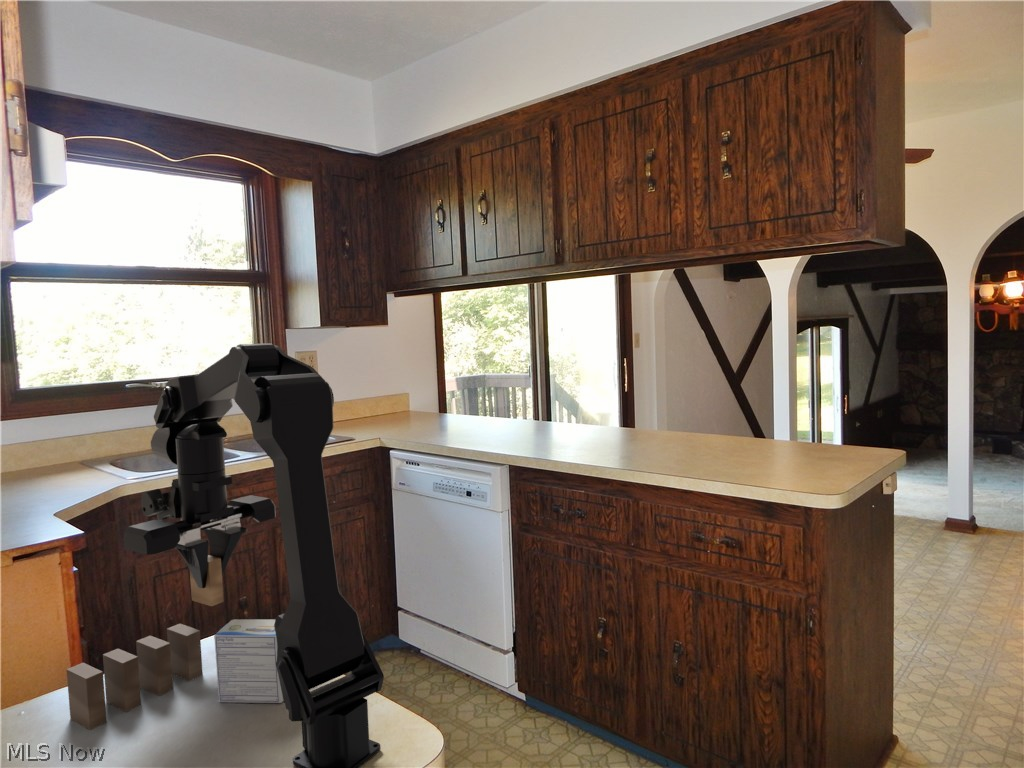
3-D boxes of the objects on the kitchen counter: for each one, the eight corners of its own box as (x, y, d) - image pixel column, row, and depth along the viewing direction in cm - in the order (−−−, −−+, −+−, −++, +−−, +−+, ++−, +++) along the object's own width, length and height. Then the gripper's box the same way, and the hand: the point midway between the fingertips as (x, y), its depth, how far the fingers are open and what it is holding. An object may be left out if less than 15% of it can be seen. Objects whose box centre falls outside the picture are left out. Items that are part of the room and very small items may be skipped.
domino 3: (153, 680, 86) (150, 635, 85) (173, 689, 83) (170, 643, 83) (139, 687, 84) (136, 641, 84) (159, 696, 82) (155, 649, 81)
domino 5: (204, 595, 92) (201, 553, 92) (223, 601, 90) (220, 558, 89) (191, 600, 91) (188, 557, 90) (211, 606, 88) (208, 562, 88)
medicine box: (296, 685, 84) (292, 618, 83) (281, 705, 79) (277, 634, 78) (236, 684, 84) (231, 617, 84) (217, 704, 80) (213, 634, 79)
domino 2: (121, 695, 82) (118, 648, 82) (141, 705, 80) (137, 656, 80) (106, 702, 81) (102, 654, 80) (126, 712, 79) (122, 663, 78)
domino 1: (87, 711, 79) (83, 662, 79) (106, 721, 77) (102, 671, 76) (70, 719, 77) (66, 669, 77) (90, 730, 75) (86, 678, 75)
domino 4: (182, 666, 89) (179, 623, 89) (202, 675, 87) (199, 630, 86) (169, 672, 88) (166, 628, 87) (189, 681, 85) (186, 636, 85)
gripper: (226, 454, 101) (232, 555, 102) (95, 479, 85) (105, 598, 86) (275, 459, 95) (281, 567, 96) (144, 487, 79) (153, 615, 80)
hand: (209, 585), depth 90 cm, fingers closed on domino 5, 2 cm apart
